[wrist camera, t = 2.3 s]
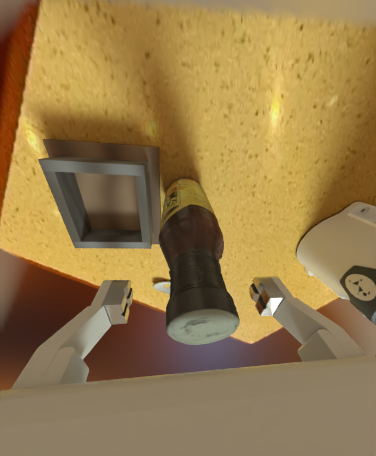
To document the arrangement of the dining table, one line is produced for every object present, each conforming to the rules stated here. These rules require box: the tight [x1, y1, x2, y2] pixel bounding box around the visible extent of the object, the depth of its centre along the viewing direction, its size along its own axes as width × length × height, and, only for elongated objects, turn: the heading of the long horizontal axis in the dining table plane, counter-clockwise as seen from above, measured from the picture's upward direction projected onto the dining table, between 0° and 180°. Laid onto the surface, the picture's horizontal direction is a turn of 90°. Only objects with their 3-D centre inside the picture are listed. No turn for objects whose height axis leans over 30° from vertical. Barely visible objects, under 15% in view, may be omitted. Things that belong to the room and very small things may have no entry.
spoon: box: [153, 281, 170, 294], centre depth 38 cm, size 4×21×2 cm, turn 56°
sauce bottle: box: [159, 178, 239, 344], centre depth 16 cm, size 6×6×20 cm
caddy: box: [38, 139, 161, 249], centre depth 22 cm, size 14×16×5 cm
